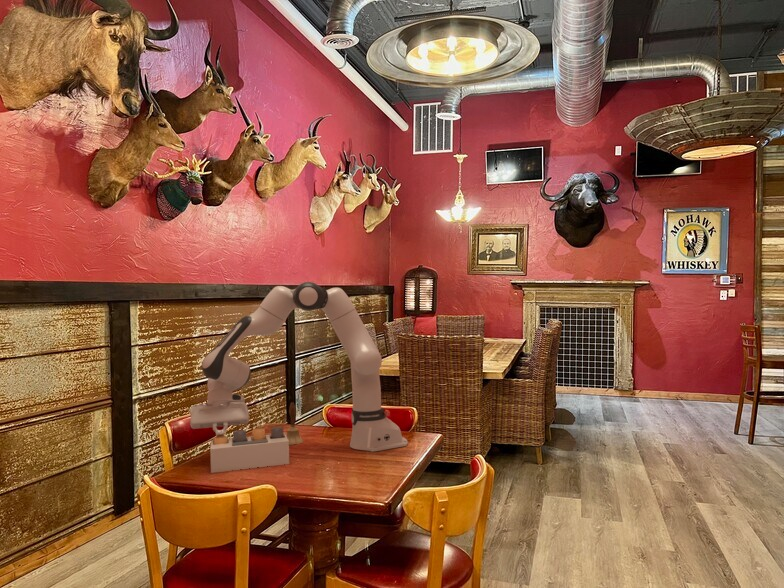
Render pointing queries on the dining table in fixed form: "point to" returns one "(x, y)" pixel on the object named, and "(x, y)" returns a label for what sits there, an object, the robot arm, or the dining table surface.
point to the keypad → (249, 453)
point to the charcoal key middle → (239, 436)
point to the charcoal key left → (276, 432)
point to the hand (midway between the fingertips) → (220, 435)
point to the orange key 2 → (258, 434)
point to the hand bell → (293, 428)
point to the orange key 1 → (220, 440)
